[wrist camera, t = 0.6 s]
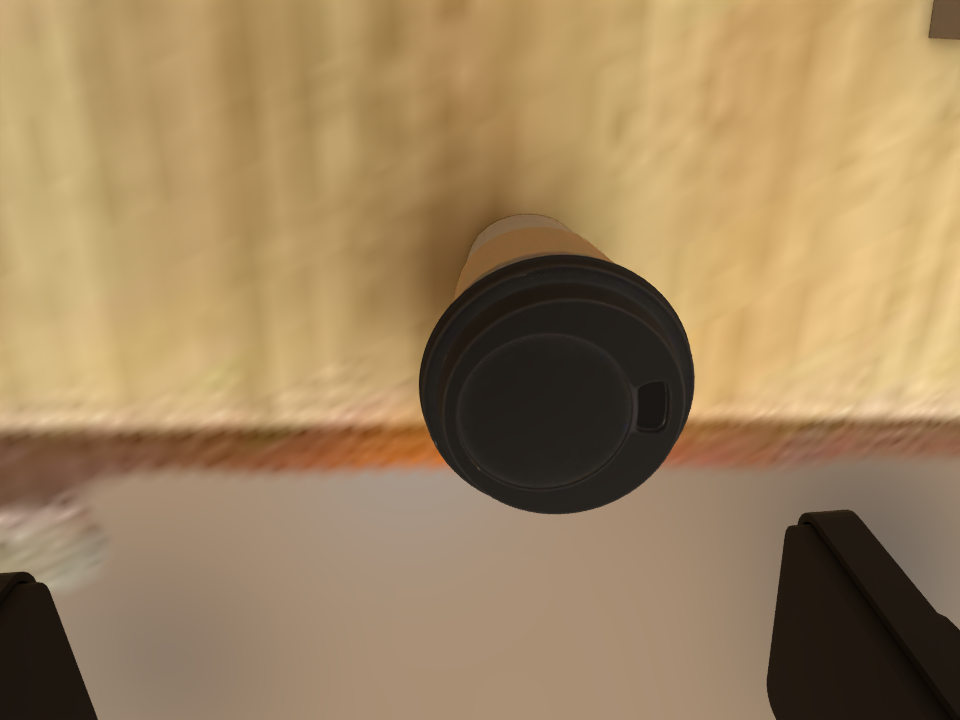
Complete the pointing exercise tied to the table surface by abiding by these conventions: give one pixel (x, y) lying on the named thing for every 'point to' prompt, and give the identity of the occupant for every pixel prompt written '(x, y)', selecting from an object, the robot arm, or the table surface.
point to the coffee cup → (554, 371)
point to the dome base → (945, 19)
